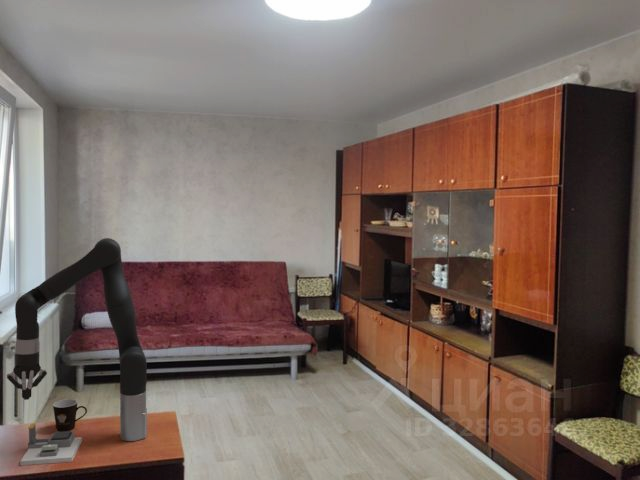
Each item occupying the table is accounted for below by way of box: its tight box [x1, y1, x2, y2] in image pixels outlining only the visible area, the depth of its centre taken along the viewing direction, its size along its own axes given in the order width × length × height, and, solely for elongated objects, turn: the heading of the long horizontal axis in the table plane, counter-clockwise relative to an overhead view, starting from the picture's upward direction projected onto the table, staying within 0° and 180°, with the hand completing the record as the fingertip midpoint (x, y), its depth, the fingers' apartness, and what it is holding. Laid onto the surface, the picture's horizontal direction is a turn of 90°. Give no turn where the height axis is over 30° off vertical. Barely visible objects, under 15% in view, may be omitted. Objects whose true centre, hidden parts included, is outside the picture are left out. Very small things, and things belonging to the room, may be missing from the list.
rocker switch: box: [41, 444, 57, 450], centre depth 190 cm, size 4×3×1 cm, turn 102°
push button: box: [52, 430, 72, 441], centre depth 198 cm, size 5×5×3 cm
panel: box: [20, 431, 83, 466], centre depth 194 cm, size 16×16×4 cm
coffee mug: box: [52, 398, 88, 432], centre depth 213 cm, size 12×9×10 cm
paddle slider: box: [27, 422, 38, 447], centre depth 196 cm, size 2×3×7 cm, turn 12°
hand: (26, 398), depth 195 cm, fingers closed
